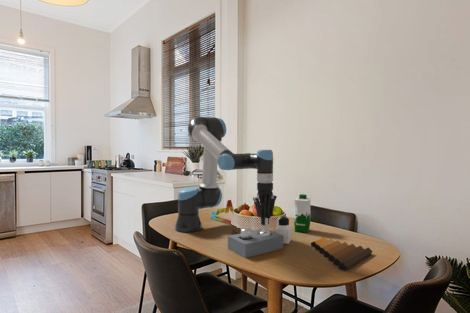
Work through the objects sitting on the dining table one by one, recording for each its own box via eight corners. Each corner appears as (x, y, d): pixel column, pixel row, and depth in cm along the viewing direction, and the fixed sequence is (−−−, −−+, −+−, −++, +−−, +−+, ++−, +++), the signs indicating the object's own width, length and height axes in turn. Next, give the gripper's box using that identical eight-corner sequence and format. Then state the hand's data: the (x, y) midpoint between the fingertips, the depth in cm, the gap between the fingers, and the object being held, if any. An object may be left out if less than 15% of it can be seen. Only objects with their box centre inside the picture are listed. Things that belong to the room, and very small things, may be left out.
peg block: (227, 248, 140) (227, 235, 140) (264, 240, 153) (264, 228, 152) (245, 258, 129) (245, 244, 129) (283, 248, 141) (283, 235, 141)
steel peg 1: (238, 239, 138) (238, 228, 138) (247, 237, 141) (247, 227, 141) (244, 242, 134) (244, 231, 134) (253, 240, 137) (253, 229, 137)
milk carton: (311, 229, 173) (311, 194, 172) (308, 233, 164) (309, 197, 164) (295, 227, 176) (296, 193, 175) (292, 231, 168) (292, 196, 167)
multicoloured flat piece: (210, 219, 198) (210, 196, 197) (214, 218, 200) (214, 196, 199) (240, 229, 174) (240, 203, 174) (244, 228, 176) (244, 202, 176)
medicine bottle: (291, 239, 154) (291, 216, 153) (288, 244, 147) (289, 219, 146) (277, 238, 156) (277, 215, 156) (274, 242, 149) (274, 218, 149)
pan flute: (346, 272, 115) (372, 255, 133) (346, 263, 115) (372, 248, 133) (292, 255, 133) (321, 242, 151) (292, 248, 133) (321, 236, 151)
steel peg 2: (257, 241, 144) (257, 231, 144) (265, 239, 147) (265, 229, 147) (264, 244, 140) (264, 234, 140) (272, 242, 143) (272, 232, 143)
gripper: (259, 183, 136) (259, 235, 137) (280, 181, 143) (280, 231, 144) (249, 182, 142) (249, 231, 143) (270, 180, 149) (270, 227, 150)
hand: (265, 231), depth 143 cm, fingers closed
